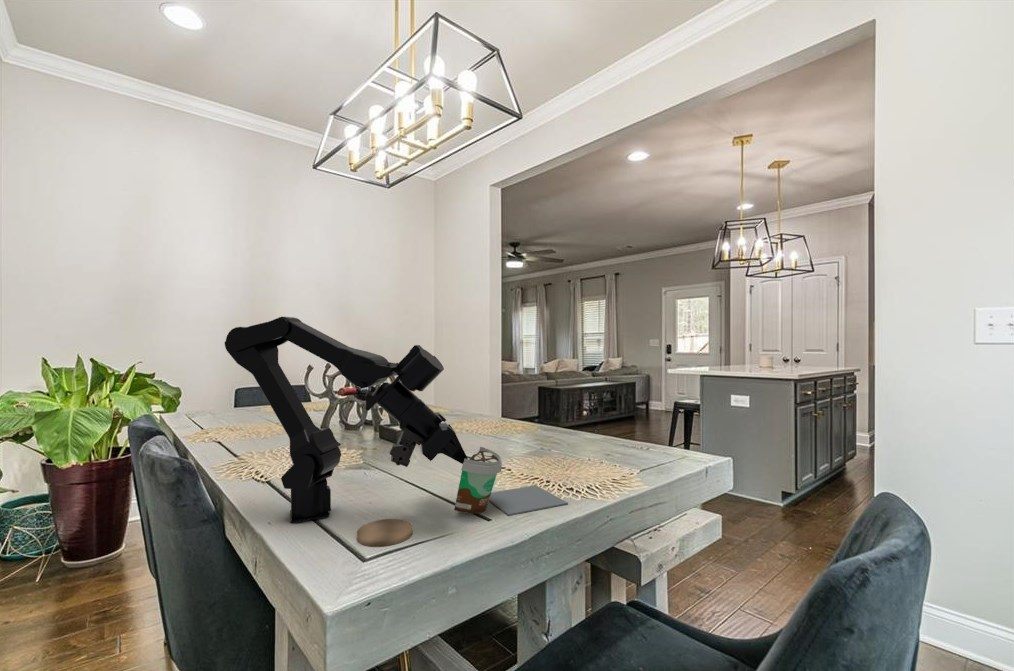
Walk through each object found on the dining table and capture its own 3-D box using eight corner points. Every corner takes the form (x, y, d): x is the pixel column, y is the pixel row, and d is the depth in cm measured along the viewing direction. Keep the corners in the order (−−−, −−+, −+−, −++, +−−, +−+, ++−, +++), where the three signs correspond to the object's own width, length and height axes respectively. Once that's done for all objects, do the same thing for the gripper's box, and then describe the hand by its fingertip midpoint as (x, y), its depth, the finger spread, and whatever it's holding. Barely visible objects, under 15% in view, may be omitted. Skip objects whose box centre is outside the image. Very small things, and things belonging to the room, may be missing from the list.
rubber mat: (508, 515, 87) (508, 514, 87) (481, 495, 98) (481, 494, 98) (568, 504, 92) (568, 502, 92) (535, 486, 104) (535, 485, 104)
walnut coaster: (361, 550, 73) (361, 544, 73) (353, 530, 81) (353, 524, 81) (418, 539, 77) (418, 533, 77) (405, 521, 85) (405, 515, 85)
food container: (483, 523, 84) (496, 468, 84) (451, 512, 85) (463, 459, 85) (498, 501, 96) (509, 454, 96) (470, 493, 97) (481, 445, 97)
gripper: (376, 432, 94) (433, 482, 97) (372, 452, 76) (442, 513, 79) (415, 391, 96) (470, 441, 99) (420, 401, 78) (487, 462, 81)
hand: (466, 462), depth 89 cm, fingers closed
